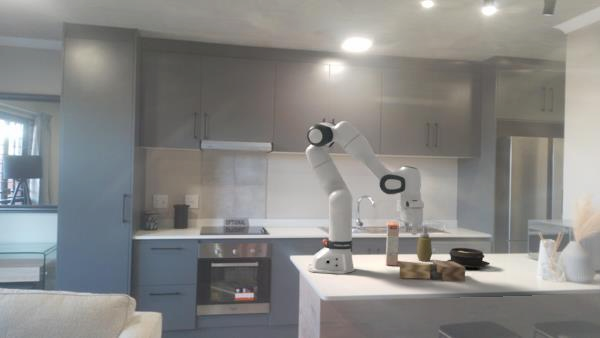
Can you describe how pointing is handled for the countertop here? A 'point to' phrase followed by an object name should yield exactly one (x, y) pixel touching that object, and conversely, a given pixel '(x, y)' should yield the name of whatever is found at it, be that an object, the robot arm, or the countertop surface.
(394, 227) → the cracker box
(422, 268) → the stool leg
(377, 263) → the countertop surface
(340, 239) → the robot arm
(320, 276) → the countertop surface
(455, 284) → the countertop surface
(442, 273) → the stool seat
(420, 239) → the squeeze bottle
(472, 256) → the casserole
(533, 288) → the countertop surface
